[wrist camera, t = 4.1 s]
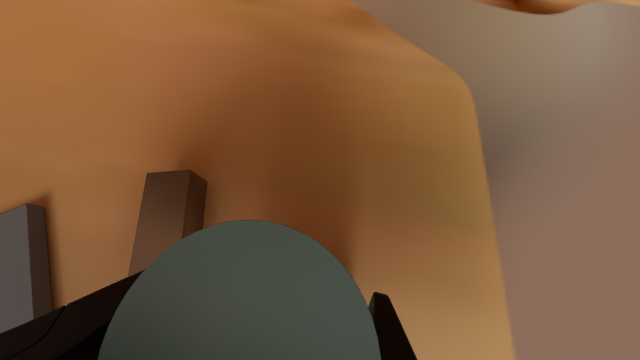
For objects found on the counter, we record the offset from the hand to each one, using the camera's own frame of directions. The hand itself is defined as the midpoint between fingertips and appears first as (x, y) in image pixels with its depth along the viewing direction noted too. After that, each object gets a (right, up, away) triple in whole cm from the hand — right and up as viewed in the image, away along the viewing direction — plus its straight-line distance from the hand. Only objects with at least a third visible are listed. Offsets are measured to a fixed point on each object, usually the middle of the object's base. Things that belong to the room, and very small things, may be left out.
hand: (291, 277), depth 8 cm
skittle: (0, -3, +6) cm, 7 cm away
